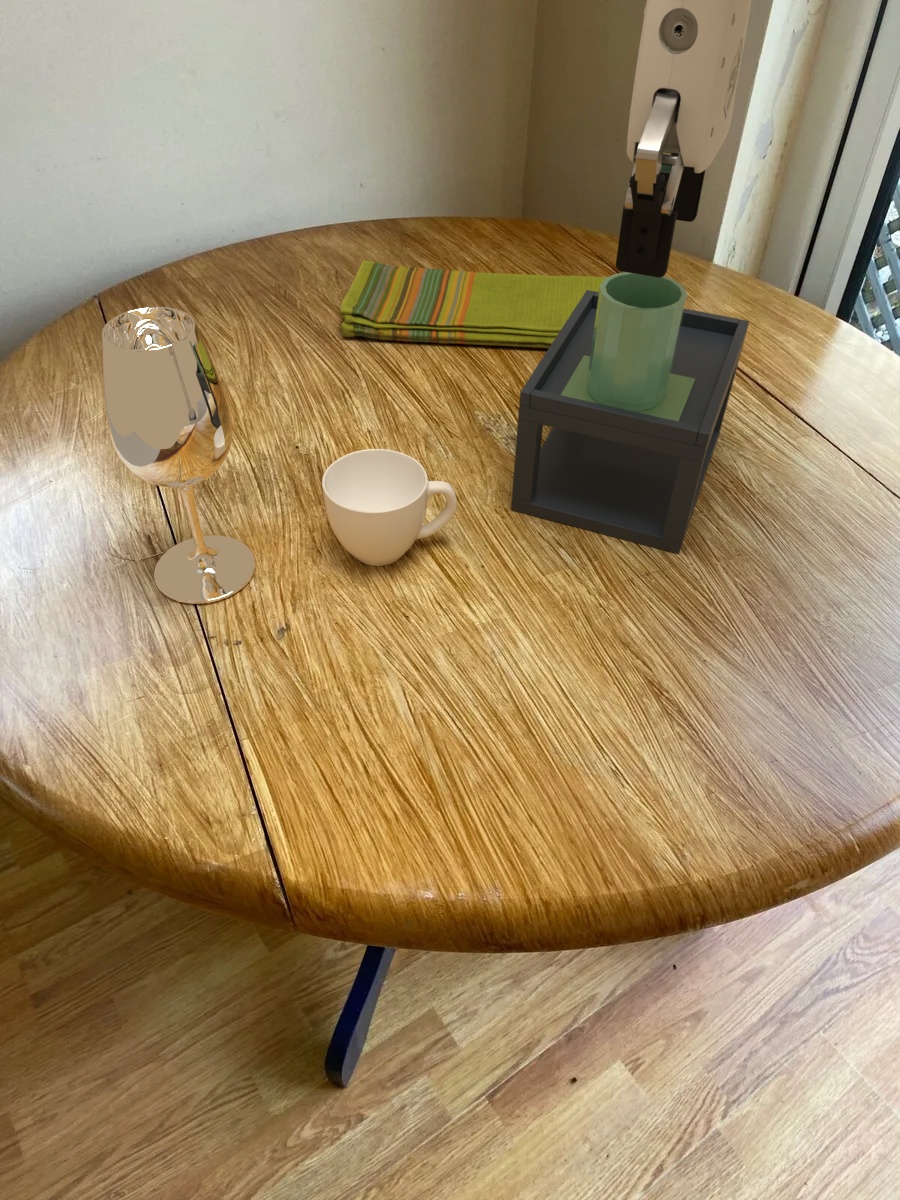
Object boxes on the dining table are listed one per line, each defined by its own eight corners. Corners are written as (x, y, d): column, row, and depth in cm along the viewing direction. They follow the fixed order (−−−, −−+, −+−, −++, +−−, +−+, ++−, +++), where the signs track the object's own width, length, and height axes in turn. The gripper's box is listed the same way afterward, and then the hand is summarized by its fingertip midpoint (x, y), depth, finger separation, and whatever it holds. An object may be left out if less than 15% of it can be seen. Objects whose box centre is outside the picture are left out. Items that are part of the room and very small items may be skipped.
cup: (326, 521, 73) (319, 452, 69) (448, 511, 74) (449, 442, 70) (331, 586, 68) (324, 516, 63) (463, 574, 69) (466, 504, 64)
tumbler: (673, 379, 70) (694, 280, 65) (656, 418, 66) (677, 317, 61) (598, 363, 72) (612, 265, 66) (577, 401, 68) (590, 300, 62)
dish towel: (360, 275, 105) (358, 247, 103) (671, 291, 103) (676, 263, 101) (338, 340, 94) (335, 311, 92) (684, 360, 92) (691, 331, 90)
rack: (719, 434, 83) (749, 320, 75) (678, 554, 71) (709, 434, 63) (572, 401, 87) (586, 289, 79) (510, 510, 75) (520, 391, 67)
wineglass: (226, 617, 65) (170, 370, 51) (132, 591, 67) (54, 346, 53) (275, 549, 71) (237, 310, 57) (187, 527, 72) (129, 289, 58)
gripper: (756, -40, 42) (687, 308, 54) (799, -88, 54) (735, 207, 66) (599, -51, 44) (566, 286, 56) (673, -95, 56) (633, 192, 68)
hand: (657, 243), depth 61 cm, fingers open, 9 cm apart
